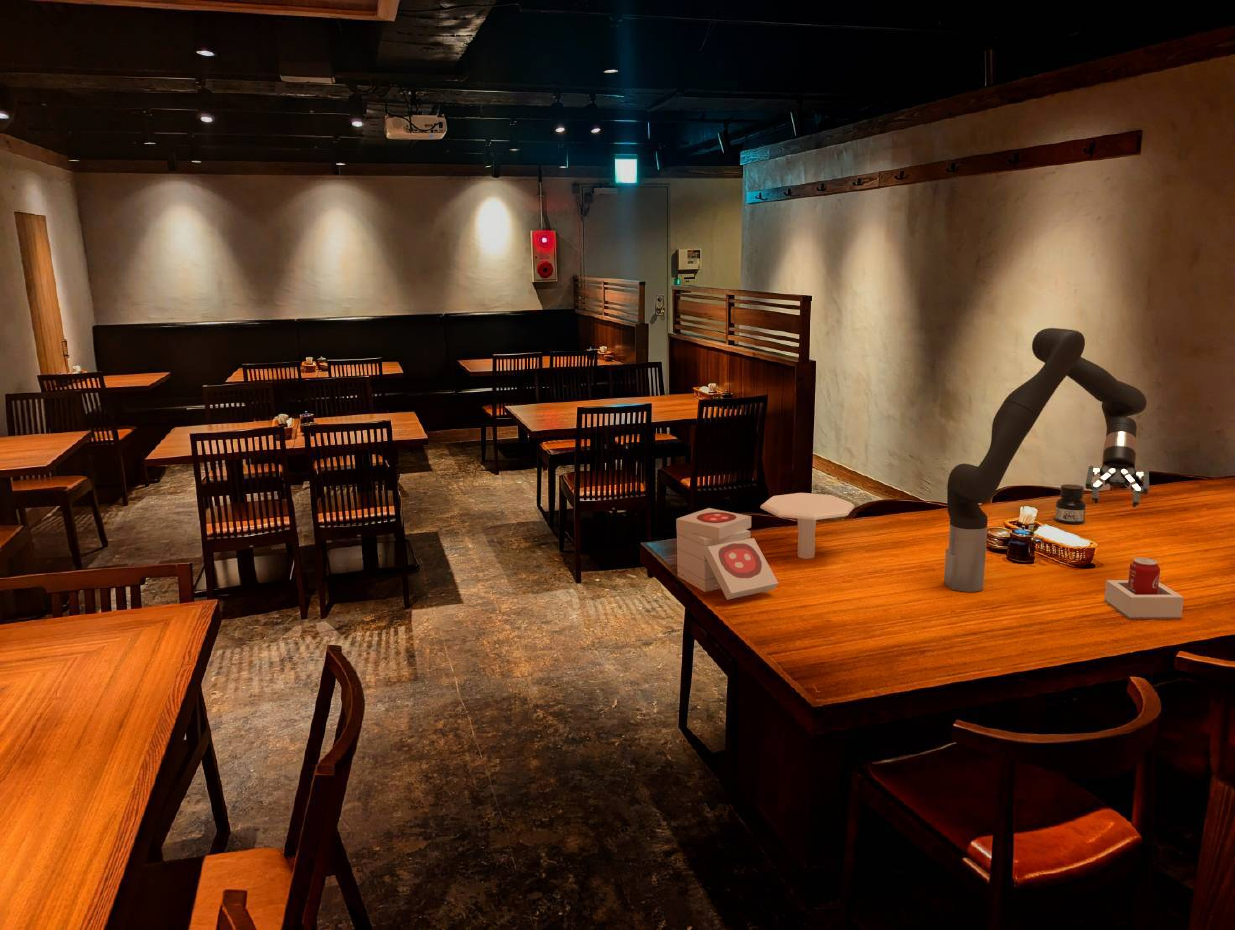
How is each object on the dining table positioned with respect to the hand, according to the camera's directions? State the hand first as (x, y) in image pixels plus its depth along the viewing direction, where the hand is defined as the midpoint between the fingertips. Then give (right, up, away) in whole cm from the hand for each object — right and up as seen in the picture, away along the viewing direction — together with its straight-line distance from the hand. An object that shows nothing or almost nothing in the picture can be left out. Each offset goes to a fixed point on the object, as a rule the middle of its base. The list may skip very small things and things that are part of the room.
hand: (1115, 503), depth 219 cm
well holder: (+1, -26, -10) cm, 28 cm away
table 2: (-71, -18, +38) cm, 83 cm away
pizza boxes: (-99, -23, +16) cm, 103 cm away
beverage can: (+1, -25, -10) cm, 27 cm away
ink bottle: (+23, -9, +66) cm, 71 cm away
